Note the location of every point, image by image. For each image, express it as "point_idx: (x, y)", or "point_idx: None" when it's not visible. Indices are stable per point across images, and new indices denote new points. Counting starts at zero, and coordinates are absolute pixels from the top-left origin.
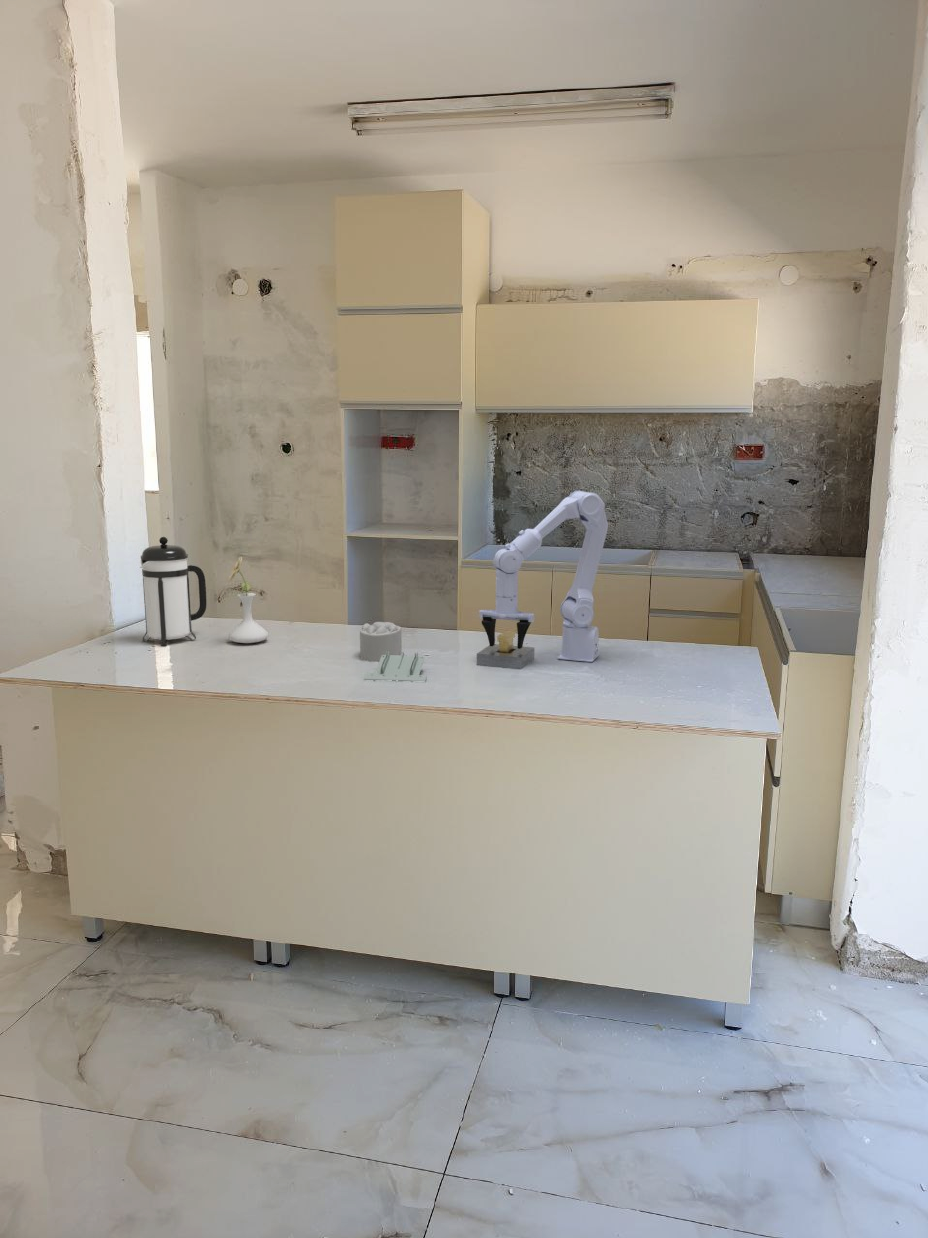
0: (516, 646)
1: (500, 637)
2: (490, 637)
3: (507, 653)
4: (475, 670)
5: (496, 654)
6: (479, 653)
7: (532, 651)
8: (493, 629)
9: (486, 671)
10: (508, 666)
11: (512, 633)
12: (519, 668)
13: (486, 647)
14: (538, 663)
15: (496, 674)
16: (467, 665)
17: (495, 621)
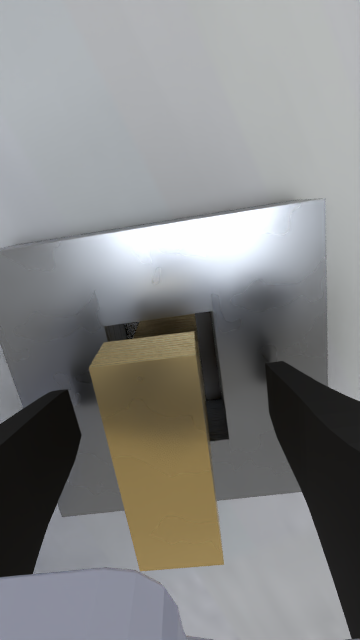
0: None
1: (160, 352)
2: (296, 386)
3: (118, 317)
4: (243, 49)
5: (172, 250)
6: (305, 212)
7: None
8: (318, 499)
9: (162, 66)
10: (85, 234)
11: (127, 517)
12: (19, 244)
13: None
14: (11, 400)
15: (61, 20)
16: (347, 156)
17: (354, 637)
